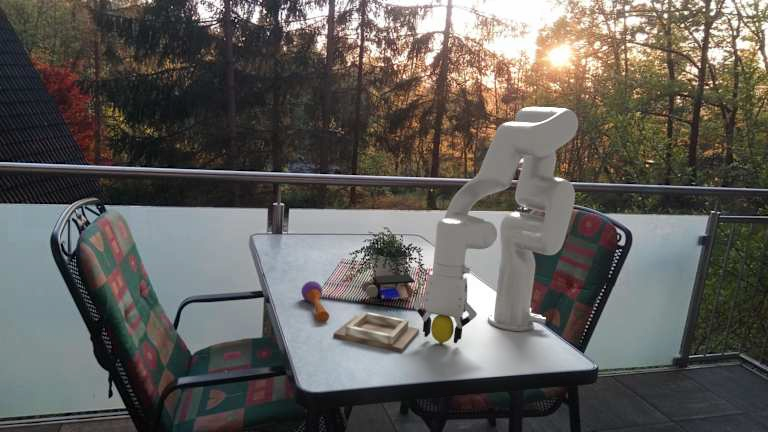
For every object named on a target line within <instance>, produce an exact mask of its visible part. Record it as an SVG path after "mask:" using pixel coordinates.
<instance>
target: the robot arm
mask: <svg viewBox="0 0 768 432" xmlns="http://www.w3.org/2000/svg"><path fill="white" fill-rule="evenodd" d="M578 128H579V119H578V116H577V115H576V112H574V111H573V110H571V109H570V108H563V107H559V108H558V107H545V106H544V107H543V106H541V107H540V106H529V107H524V108H521V109H520V110H518V111H517V112H516V115H515V118H514V121H508V122H504V123H502V124H500V125H499V126H498V127H497V129H496V131H495V133H494V135H493V137H492V140H491V143H490V144H489V148H488V150H487V152H486V154H485V157H484V160H483V162H482V164H481V166H480V169H479V171H478V173H477V175H475V176H474V177H473V178H472V179H470V180H469V181H468V182H466V183H465V184H464V185H463V186H462V187H461V188H460V189H459V190H458V191H457V192H456V193H455V194H454V195H453V198H452V199H451V201H450V202H449V205H448V208H447V210H446V212H445V216H444V217H443V218H442V219H439V220H438V221H437V225H436V230H435V233H436V235H435V242H434V253H433V254H434V255H433V263H432V270H431V271H430V273H429V275H428V278H427V279H428V280H427V282H426V286H425V292H424V295H422V296H420V297H419V298H418V299H416V300H415V301H413V303H412V305H413V307H414V308H415V310H416V311H417V313H418V315H419V316H420V318H421V319H422V321H423V325H422V332H423V335H424V336H423V337H424V338H427V337H429V335H430V334H431V326H432V318H431V316H432V314H436V315H439V314H440V315H445V316H449V317H450V318H451V317H452V318H453V319H454V321H455V323H456V326H455V327H454V331H453V343H454V344H457V343H458V341H459V340H461V339H462V334H463V327H464V326H466V325H467V324H469V323H470V322H471V321H472V320H473V319H475V318H476V316H477V315H478V313H477V312H476V310H475V309H474V308H473V307H472V306H471V305H470V304H469V303H468V278H467V277H468V276H467V275H465V274H468V275H469V274H470V273H471V268H470V267H467V266H466V263H465V262H466V252H467V250H468V249H469V250H471V249H472V250H485V249H487V248H490V247H492V246H493V245H494V244H495V242H496V240H497V237H498V231H497V227H496V226H495V225H494V223H493V222H491V221H490V220H487V219H485V218H480V217H477V216H473V215H469V213H470V210H471V209H472V207H473V206H474V205H475V204H476V203H477V202H478V201H480V200H481V199H483V198H485V197H487V196H490V195H493V194H495V193H499V192H502V191H504V190H506V189H508V188H510V186H511V185H512V182H513V179H514V177H515V174H516V172H517V169H518V168H519V165H520V163H521V160H522V158H523V160H522V166H521V169H520V173H519V177H518V181H517V184H516V187H515V188H516V190H515V195H514V196H515V197H514V198H515V201H516V203H517V204H518V205H519V206H521V207H522V208H525V209H529V210H532V211H533V210H535V211H538V212H542V213H545V215H544V216H541V215H540V216H539V215H536V214H533V213H527V212H521V211H515V212H510V213H507V215H505V216H504V217H503V218H502V220H501V223H500V225H499V226H500V228H499V229H500V230H499V236H500V262H499V269H498V270H499V271H498V279H497V287H496V297H495V306H494V311H492V312H491V313H489V314H488V317H487V320H488V321H487V322H489V323H490V324H491V325H492V326H494V327H496V328H499V329H502V330H506V331H512V332H526V331H531V330H532V329H533V328H534V327H535V326H534V325H535V323H536V324H538V325H544V326H545V324H546V320H547V319H546V317H543V316H542V314H536V313H534V312H532V310H533V309H532V308H531V305H532V304H531V302H532V296H533V288H534V280H535V272H536V260H535V256H534V253H538V254H541V255H545V256H554V255H555V254H557V253H558V252H559V251H560V250H561V249H562V247H563V245H564V242H565V239H566V236H567V232H568V228H569V225H570V222H571V217H572V213H573V210H574V207H575V206H574V205H575V202H576V201H575V200H576V199H575V198H576V192H575V188H574V185H573V184H572V183H571V182H570V181H569V180H567V179H565V178H561V177H555V176H554V172H555V168H556V164H557V154H556V150H558V149H559V148H562V146H564V145H566V144H568V143H569V142H570V141H571V140H572V139H573V138H574V137H575V135H576V133H577V131H578ZM533 252H534V253H533ZM422 304H423V306H422ZM466 312H467V313H468V315H467V316H465V318H463V315H464V313H466Z"/></svg>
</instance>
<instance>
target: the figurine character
mask: <svg viewBox="0 0 768 432" xmlns="http://www.w3.org/2000/svg"><path fill="white" fill-rule="evenodd" d="M415 282H416V281H415V279H414V278H413V277H412V276H411V275H410V274H409V273H405V274H390V275H389V274H388V275H387V274H386V275H375V276H374V275H373V280H372V281H371V280H364V281H363V282H362V283H361V287H360V288H361V289H362V291H363V292H364V293H366V295H367V296H368V299H369V300H370V302H372V303H375V302H376V303H377V302H380V301H382V300H387V299H388V300H389V299H395V298H399V299H400V300H402V301H407V300H409V299H411V297H412V296H413V288H412V287H411V285H409V284H410V283H411V284H413V283H415ZM383 285H398V286H397V287H389V288H382V289H381V286H383ZM371 299H373V300H371Z"/></svg>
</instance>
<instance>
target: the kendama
mask: <svg viewBox="0 0 768 432" xmlns="http://www.w3.org/2000/svg"><path fill="white" fill-rule="evenodd" d="M301 295H302V298H303V299H304V300H305V301H306V302H309V303H311V304H314V308H315V316H316V320H317V322H318V323H326V322H327V321H328V320H329V319H330V314H329V312H328V311H327V310H326V309H325V307H324V306H323V305H322V303H321V302H320V300H321V298H322V296H323V289H322V286H321V284H320V283H319V282H317V281H313V280H312V281H307V282H305V284H303V286H302V288H301Z"/></svg>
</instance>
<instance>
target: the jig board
mask: <svg viewBox="0 0 768 432" xmlns="http://www.w3.org/2000/svg"><path fill="white" fill-rule="evenodd" d="M409 321H410V320H408V319H403V318H399V317H398V318H397V317H394V316H393V317H392V316H389V315H383V314H379V313H374V312H369V311H363V312H362V313H361V314H360V315H359V316H358V315H354V317H352V318H351V319H350V320H348V321H347V322H345V324H344V325H341V327H340V328H338V329H337V330H336V331H334V333H333V338H336V339H341V340H346V341H350V342H354V343H359V344H361V345H367V346H372V347H376V348H381V349H386V350H389V351H390V350H391V351H395V352H398V353H403V352H404V350H406V348H407V347H408V346H409V345H410V343H412V341H414V339H415V337H416V336H418V334H419V333H420V328H418V327H417V328H416V327H412V326H409Z"/></svg>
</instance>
